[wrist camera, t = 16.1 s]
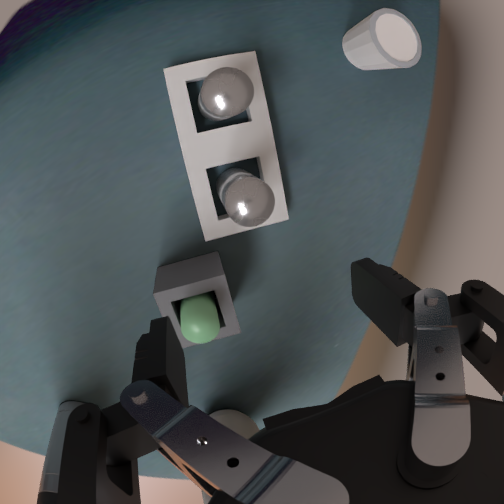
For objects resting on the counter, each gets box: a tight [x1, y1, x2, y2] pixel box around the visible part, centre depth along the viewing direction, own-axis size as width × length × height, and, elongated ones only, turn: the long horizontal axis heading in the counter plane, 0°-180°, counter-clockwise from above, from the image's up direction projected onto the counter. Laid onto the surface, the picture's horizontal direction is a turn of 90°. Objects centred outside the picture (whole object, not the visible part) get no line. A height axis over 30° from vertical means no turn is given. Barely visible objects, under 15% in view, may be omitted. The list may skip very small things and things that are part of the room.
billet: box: [216, 168, 275, 227], centre depth 28 cm, size 4×4×8 cm
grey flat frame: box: [163, 51, 289, 242], centre depth 29 cm, size 18×9×2 cm, turn 11°
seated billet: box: [197, 67, 254, 121], centre depth 24 cm, size 4×4×8 cm
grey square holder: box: [153, 251, 241, 348], centre depth 32 cm, size 7×7×6 cm
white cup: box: [342, 8, 422, 70], centre depth 25 cm, size 7×7×7 cm
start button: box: [180, 291, 220, 343], centre depth 30 cm, size 4×4×6 cm
